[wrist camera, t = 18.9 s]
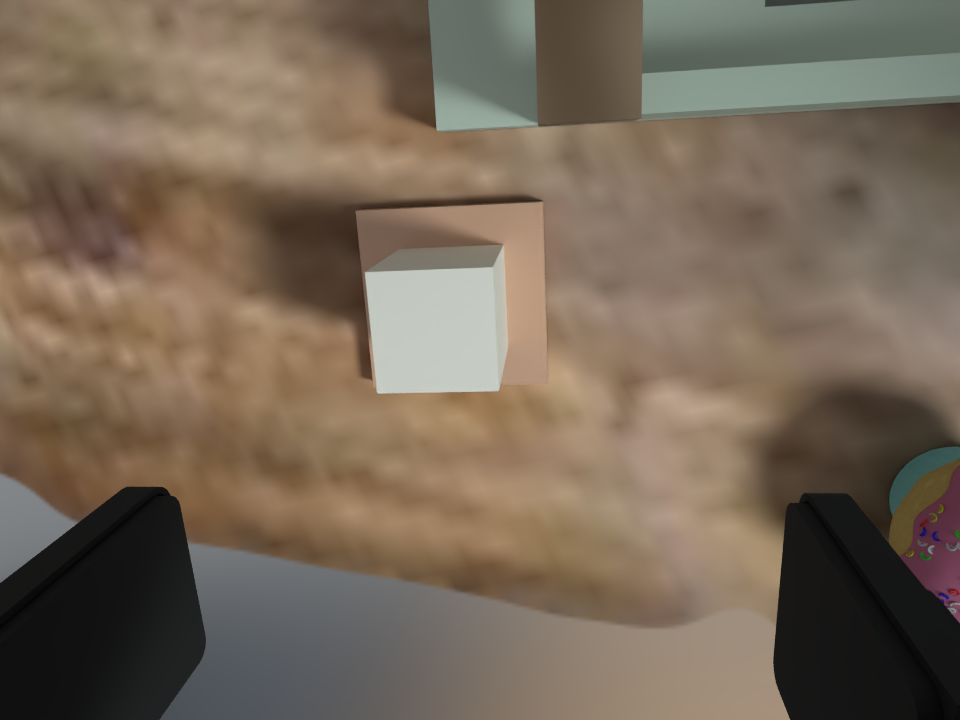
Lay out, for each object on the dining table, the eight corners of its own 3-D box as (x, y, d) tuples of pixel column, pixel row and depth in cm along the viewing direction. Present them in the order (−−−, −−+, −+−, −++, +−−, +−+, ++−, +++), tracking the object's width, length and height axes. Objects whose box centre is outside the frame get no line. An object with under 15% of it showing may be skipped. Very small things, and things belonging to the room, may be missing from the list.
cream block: (503, 244, 29) (492, 267, 24) (508, 346, 31) (498, 390, 25) (399, 249, 30) (364, 272, 24) (408, 348, 31) (377, 393, 26)
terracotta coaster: (543, 200, 30) (542, 202, 29) (547, 378, 32) (547, 384, 31) (360, 209, 30) (355, 211, 30) (377, 382, 33) (373, 387, 32)
